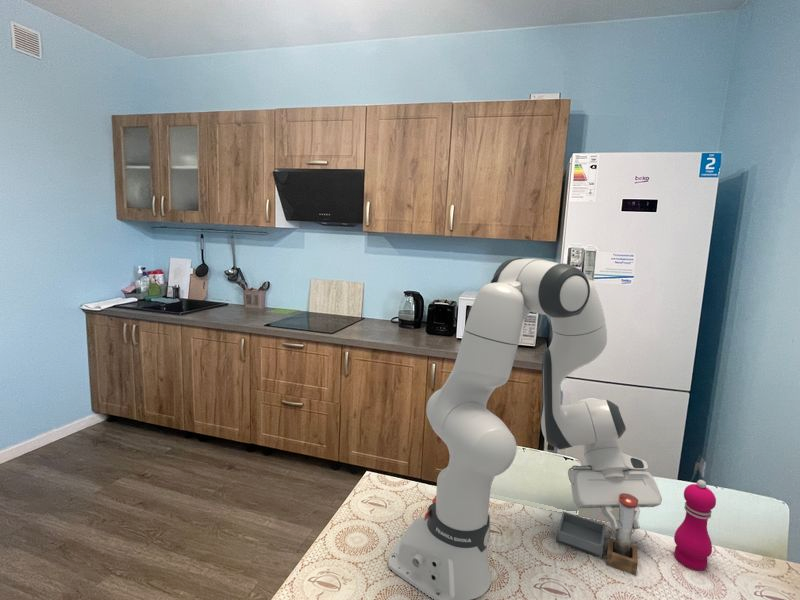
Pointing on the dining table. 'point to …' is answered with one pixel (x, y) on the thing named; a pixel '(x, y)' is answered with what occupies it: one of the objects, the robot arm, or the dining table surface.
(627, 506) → the pin
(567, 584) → the dining table surface
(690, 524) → the pepper mill
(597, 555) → the tray
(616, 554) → the socket block
